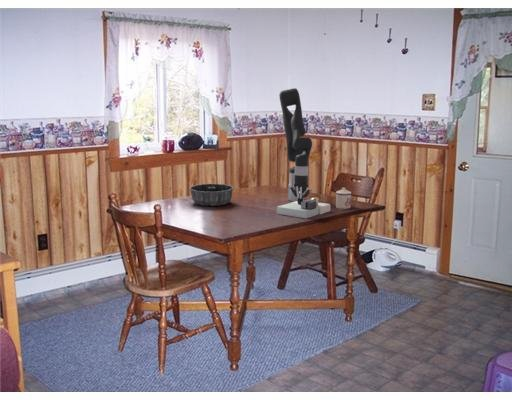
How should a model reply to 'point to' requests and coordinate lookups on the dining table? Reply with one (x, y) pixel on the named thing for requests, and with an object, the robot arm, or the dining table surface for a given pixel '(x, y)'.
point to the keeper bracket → (311, 205)
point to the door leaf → (296, 211)
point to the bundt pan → (211, 194)
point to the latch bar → (304, 203)
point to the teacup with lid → (343, 199)
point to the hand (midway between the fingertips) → (300, 204)
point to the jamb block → (320, 207)
